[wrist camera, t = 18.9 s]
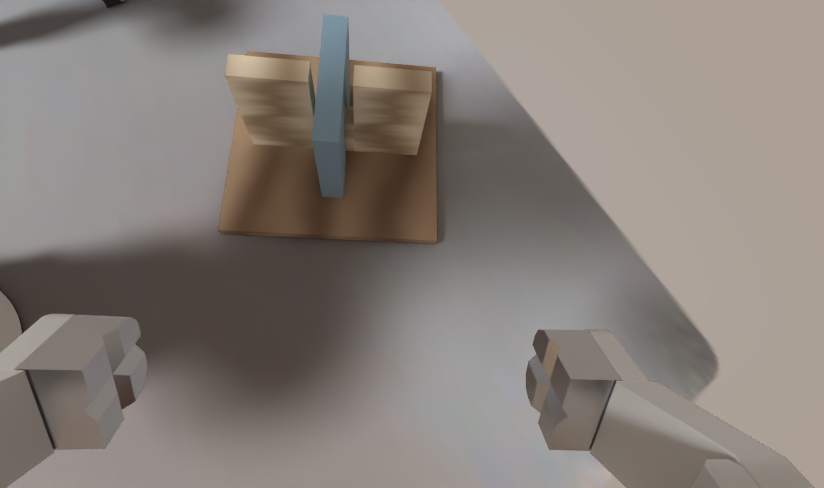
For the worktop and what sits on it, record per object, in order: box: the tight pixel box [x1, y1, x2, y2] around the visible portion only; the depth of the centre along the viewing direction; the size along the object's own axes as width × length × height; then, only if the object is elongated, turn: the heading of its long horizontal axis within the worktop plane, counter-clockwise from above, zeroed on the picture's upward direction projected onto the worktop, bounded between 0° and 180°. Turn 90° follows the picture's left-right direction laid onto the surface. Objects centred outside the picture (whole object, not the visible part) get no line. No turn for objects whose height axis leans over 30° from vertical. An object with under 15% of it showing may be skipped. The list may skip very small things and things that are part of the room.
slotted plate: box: [312, 14, 350, 198], centre depth 41 cm, size 12×2×10 cm, turn 0°
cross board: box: [218, 51, 437, 244], centre depth 41 cm, size 20×20×11 cm
